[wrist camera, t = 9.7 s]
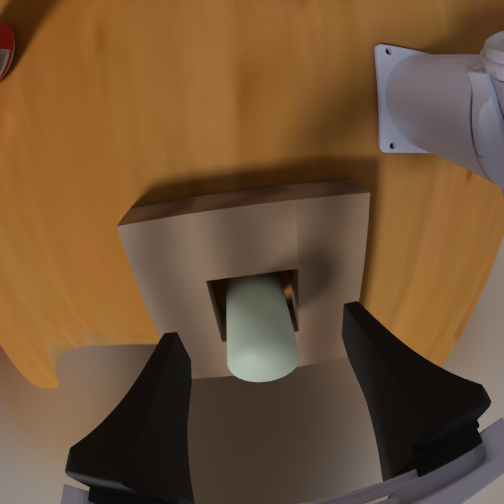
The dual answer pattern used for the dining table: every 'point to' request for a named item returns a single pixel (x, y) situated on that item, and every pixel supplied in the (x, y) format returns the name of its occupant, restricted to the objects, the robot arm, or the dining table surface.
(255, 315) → the peg
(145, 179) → the dining table surface
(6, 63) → the beverage can
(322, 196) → the socket block
